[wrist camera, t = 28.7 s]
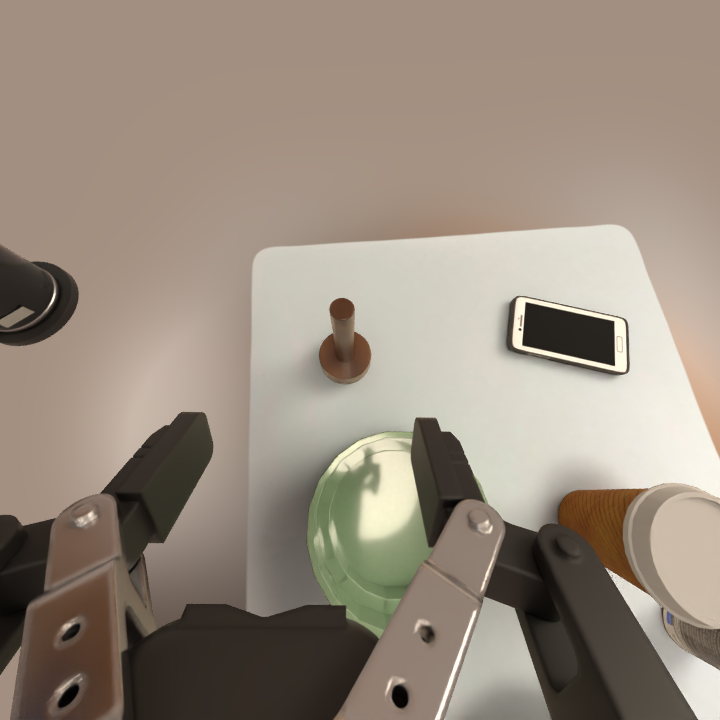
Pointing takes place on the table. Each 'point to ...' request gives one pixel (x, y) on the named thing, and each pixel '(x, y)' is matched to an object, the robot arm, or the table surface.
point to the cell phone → (569, 335)
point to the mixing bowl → (368, 528)
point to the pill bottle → (694, 639)
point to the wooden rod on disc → (344, 346)
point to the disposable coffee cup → (656, 543)
